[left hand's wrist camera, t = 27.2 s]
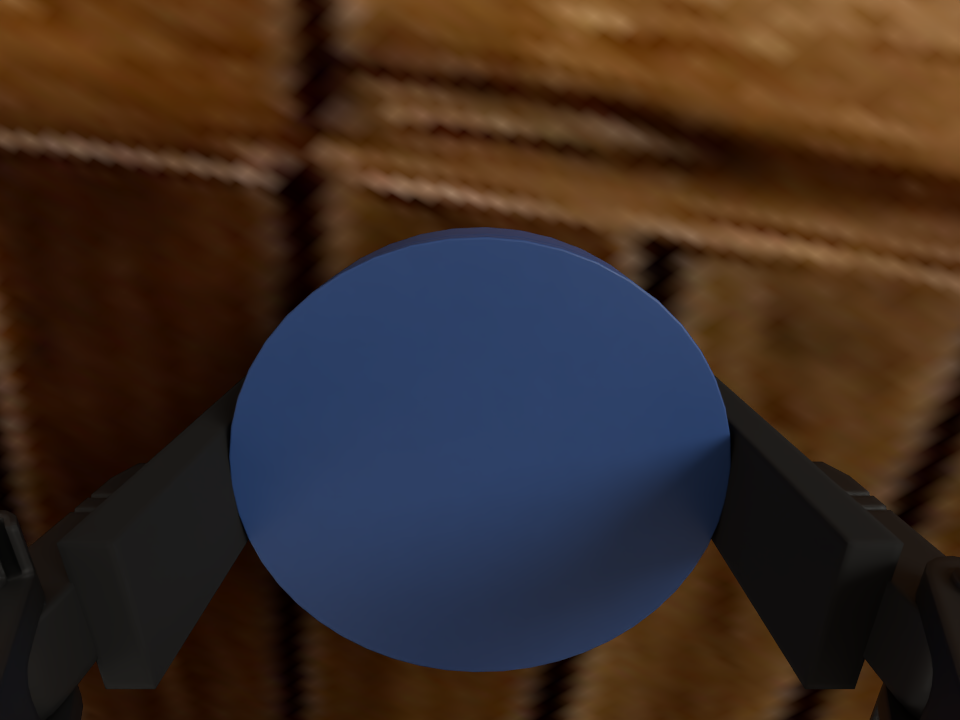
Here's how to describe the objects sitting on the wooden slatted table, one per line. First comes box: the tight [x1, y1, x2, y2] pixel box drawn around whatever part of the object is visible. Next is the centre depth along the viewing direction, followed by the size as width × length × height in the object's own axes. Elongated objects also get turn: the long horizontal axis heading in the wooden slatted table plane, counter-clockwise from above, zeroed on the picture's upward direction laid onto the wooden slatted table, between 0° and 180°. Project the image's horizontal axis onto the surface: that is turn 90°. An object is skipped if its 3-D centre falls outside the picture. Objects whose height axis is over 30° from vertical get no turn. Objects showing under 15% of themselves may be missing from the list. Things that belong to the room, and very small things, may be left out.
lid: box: [229, 227, 731, 672], centre depth 11 cm, size 10×10×2 cm
